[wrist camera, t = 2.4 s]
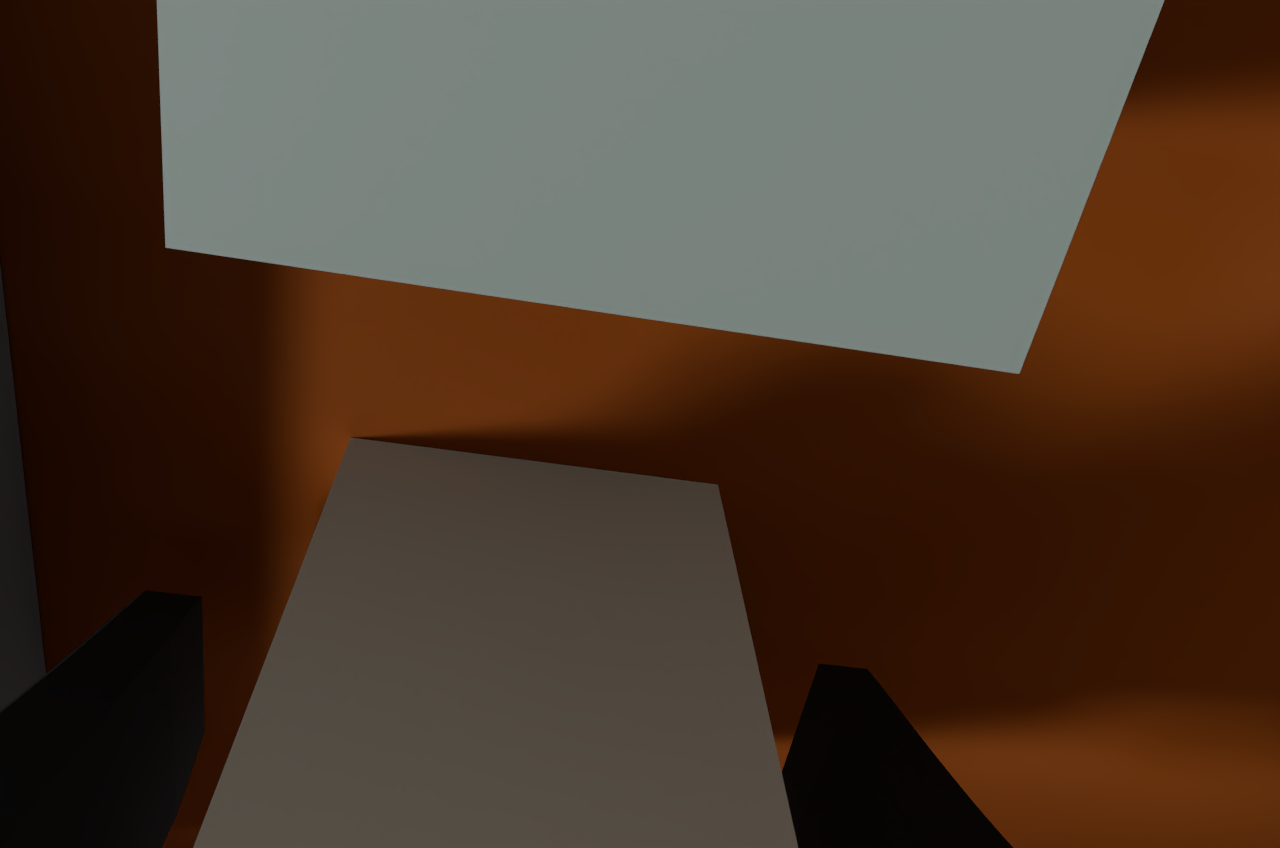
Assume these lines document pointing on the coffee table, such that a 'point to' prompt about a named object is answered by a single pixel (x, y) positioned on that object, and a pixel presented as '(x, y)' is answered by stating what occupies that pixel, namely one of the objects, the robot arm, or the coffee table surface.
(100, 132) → the coffee table surface
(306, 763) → the cream block
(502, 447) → the coffee table surface
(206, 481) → the coffee table surface
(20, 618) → the grey tray
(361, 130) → the sage block
